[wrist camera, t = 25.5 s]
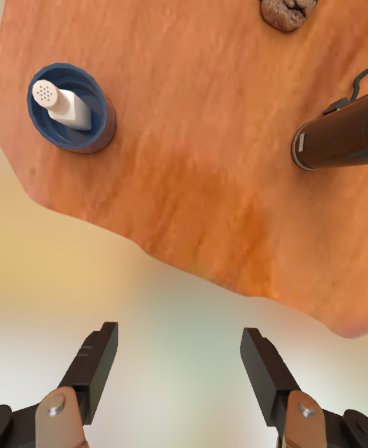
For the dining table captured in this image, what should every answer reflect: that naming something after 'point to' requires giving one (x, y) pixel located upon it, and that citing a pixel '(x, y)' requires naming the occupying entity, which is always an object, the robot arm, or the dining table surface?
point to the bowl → (89, 94)
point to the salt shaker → (63, 105)
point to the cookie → (287, 12)
